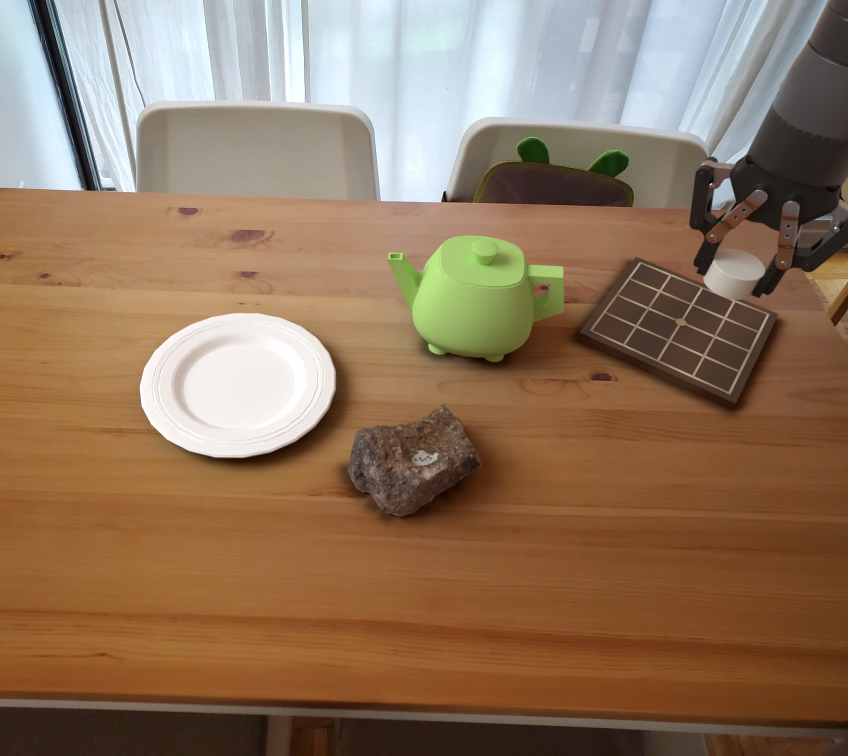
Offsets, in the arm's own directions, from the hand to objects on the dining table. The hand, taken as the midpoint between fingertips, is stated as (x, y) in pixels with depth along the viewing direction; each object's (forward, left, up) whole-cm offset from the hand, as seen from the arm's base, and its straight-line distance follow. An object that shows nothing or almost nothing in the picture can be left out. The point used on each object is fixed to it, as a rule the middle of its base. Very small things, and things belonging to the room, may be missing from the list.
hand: (730, 280), depth 68 cm
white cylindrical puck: (0, 0, 0) cm, 0 cm away
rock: (+17, +25, -16) cm, 34 cm away
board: (+3, -11, -16) cm, 19 cm away
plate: (+38, +28, -16) cm, 50 cm away
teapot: (+23, +5, -16) cm, 28 cm away
